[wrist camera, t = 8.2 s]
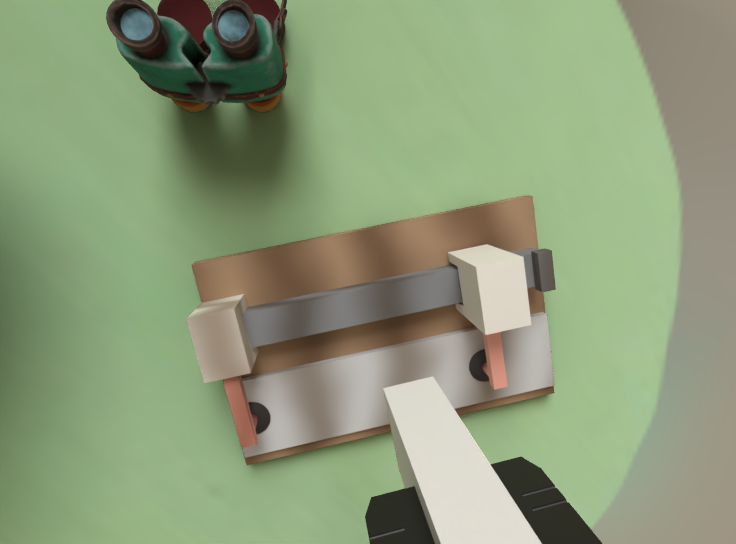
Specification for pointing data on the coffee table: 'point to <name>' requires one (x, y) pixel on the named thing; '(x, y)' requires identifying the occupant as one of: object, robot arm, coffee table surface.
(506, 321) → the slider head
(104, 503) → the coffee table surface
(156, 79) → the binoculars
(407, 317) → the gauge
